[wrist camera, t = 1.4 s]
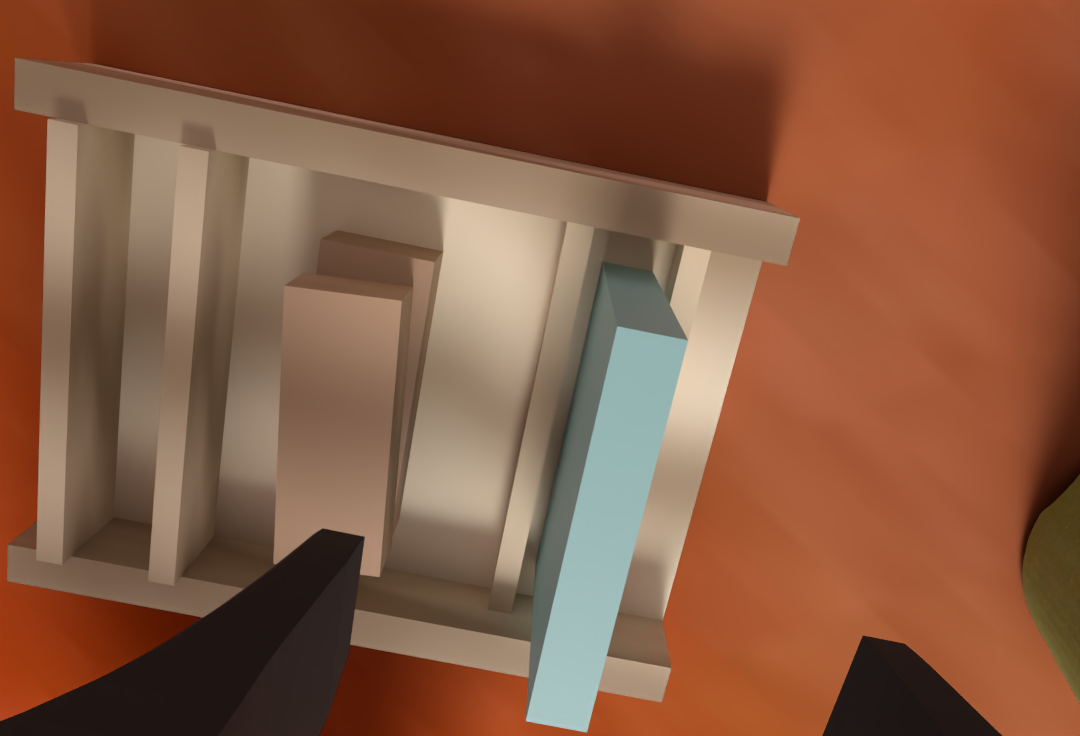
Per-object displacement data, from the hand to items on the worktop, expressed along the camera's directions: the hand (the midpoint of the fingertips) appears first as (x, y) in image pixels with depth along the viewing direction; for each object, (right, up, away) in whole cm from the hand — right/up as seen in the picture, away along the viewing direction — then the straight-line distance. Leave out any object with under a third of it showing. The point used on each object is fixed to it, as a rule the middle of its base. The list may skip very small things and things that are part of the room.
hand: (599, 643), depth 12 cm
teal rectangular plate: (0, +3, +9) cm, 9 cm away
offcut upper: (-5, +3, +8) cm, 10 cm away
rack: (-4, +4, +10) cm, 11 cm away
